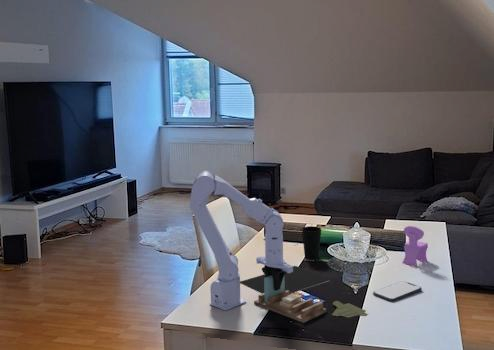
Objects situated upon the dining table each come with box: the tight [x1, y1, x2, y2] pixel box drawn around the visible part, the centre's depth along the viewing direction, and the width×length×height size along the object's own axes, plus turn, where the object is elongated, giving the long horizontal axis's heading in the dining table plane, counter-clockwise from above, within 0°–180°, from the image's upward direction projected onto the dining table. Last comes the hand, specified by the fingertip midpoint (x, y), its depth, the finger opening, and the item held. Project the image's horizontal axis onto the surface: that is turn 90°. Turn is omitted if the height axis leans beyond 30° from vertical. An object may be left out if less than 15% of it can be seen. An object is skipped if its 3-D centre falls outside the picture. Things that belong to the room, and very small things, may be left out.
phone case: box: [372, 280, 422, 303], centre depth 195 cm, size 9×2×16 cm
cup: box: [301, 226, 322, 261], centre depth 232 cm, size 8×8×12 cm
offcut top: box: [282, 293, 302, 304], centre depth 185 cm, size 5×4×1 cm
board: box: [264, 275, 285, 302], centre depth 189 cm, size 8×2×8 cm, turn 134°
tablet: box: [240, 265, 331, 294], centre depth 208 cm, size 27×1×20 cm
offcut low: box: [280, 299, 304, 309], centre depth 184 cm, size 6×4×1 cm
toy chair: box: [401, 225, 429, 267], centre depth 224 cm, size 8×9×15 cm
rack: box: [253, 290, 328, 324], centre depth 184 cm, size 11×21×3 cm, turn 44°
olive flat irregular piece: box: [331, 300, 369, 319], centre depth 179 cm, size 11×18×1 cm, turn 36°
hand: (274, 288), depth 189 cm, fingers closed
